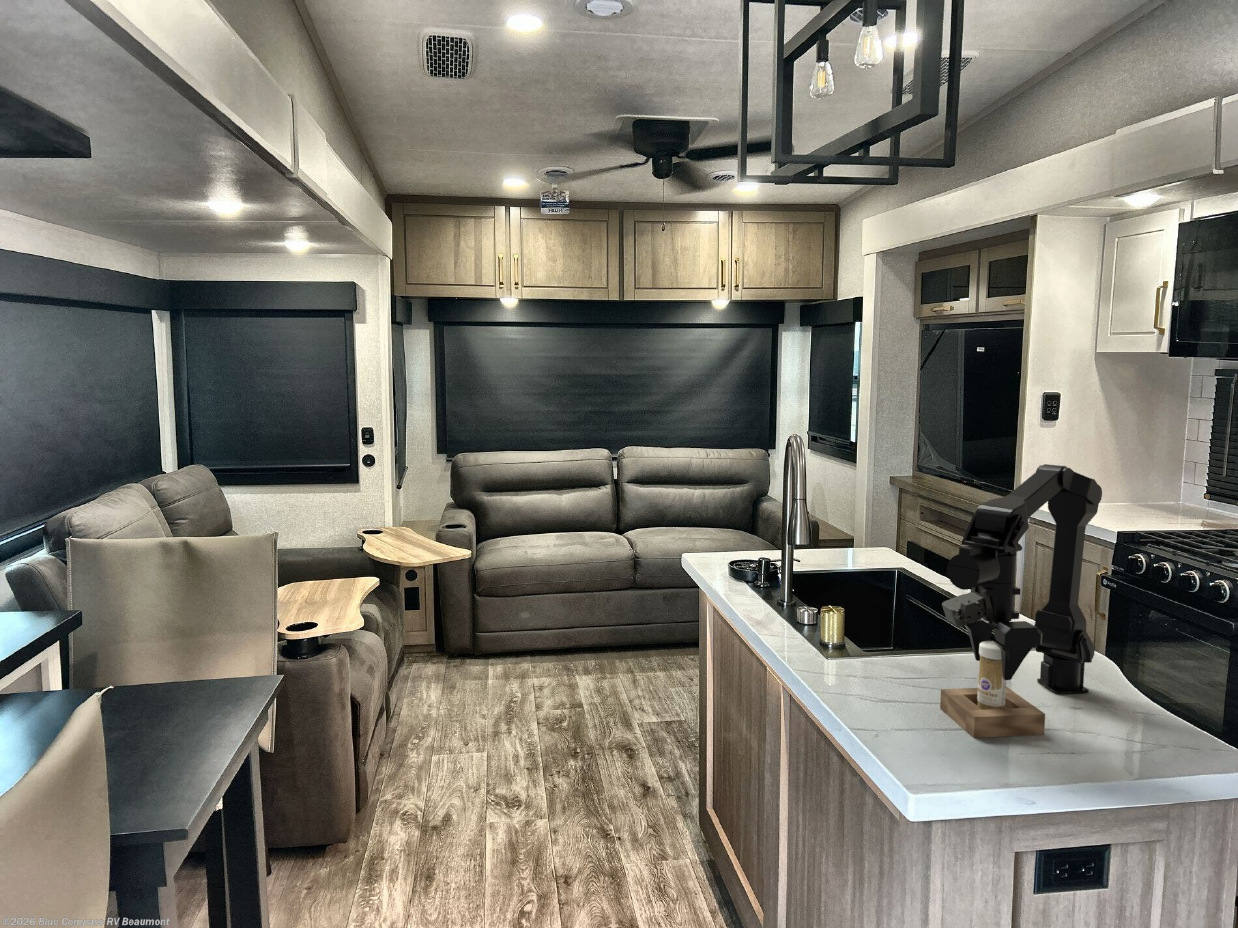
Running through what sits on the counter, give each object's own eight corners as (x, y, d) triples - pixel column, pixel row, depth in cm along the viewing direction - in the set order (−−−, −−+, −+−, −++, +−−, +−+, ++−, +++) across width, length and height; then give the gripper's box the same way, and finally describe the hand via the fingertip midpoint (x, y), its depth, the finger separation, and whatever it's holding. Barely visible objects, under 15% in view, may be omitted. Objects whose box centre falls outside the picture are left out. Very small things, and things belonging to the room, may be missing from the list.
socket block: (1005, 705, 153) (1006, 686, 153) (1044, 734, 141) (1045, 713, 141) (940, 708, 152) (940, 689, 152) (973, 737, 140) (974, 716, 140)
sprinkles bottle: (972, 721, 146) (975, 644, 145) (981, 713, 150) (984, 638, 148) (1000, 728, 143) (1004, 650, 142) (1008, 719, 147) (1012, 643, 145)
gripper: (925, 567, 152) (922, 653, 154) (977, 596, 134) (974, 692, 136) (985, 565, 153) (982, 650, 155) (1046, 593, 135) (1041, 689, 137)
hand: (992, 669), depth 146 cm, fingers open, 9 cm apart
